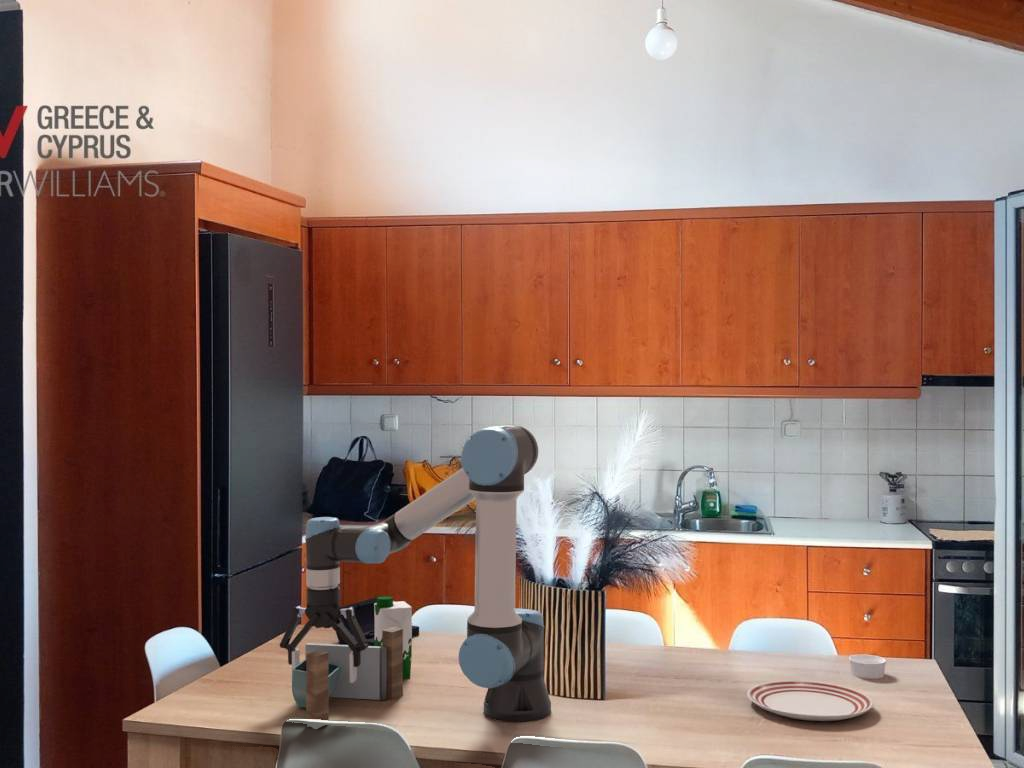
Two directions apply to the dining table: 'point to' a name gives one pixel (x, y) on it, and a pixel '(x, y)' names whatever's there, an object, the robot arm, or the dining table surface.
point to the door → (368, 672)
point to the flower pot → (300, 682)
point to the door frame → (320, 674)
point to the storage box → (366, 620)
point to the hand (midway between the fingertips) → (324, 679)
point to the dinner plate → (810, 700)
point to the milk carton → (395, 625)
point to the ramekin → (867, 666)
